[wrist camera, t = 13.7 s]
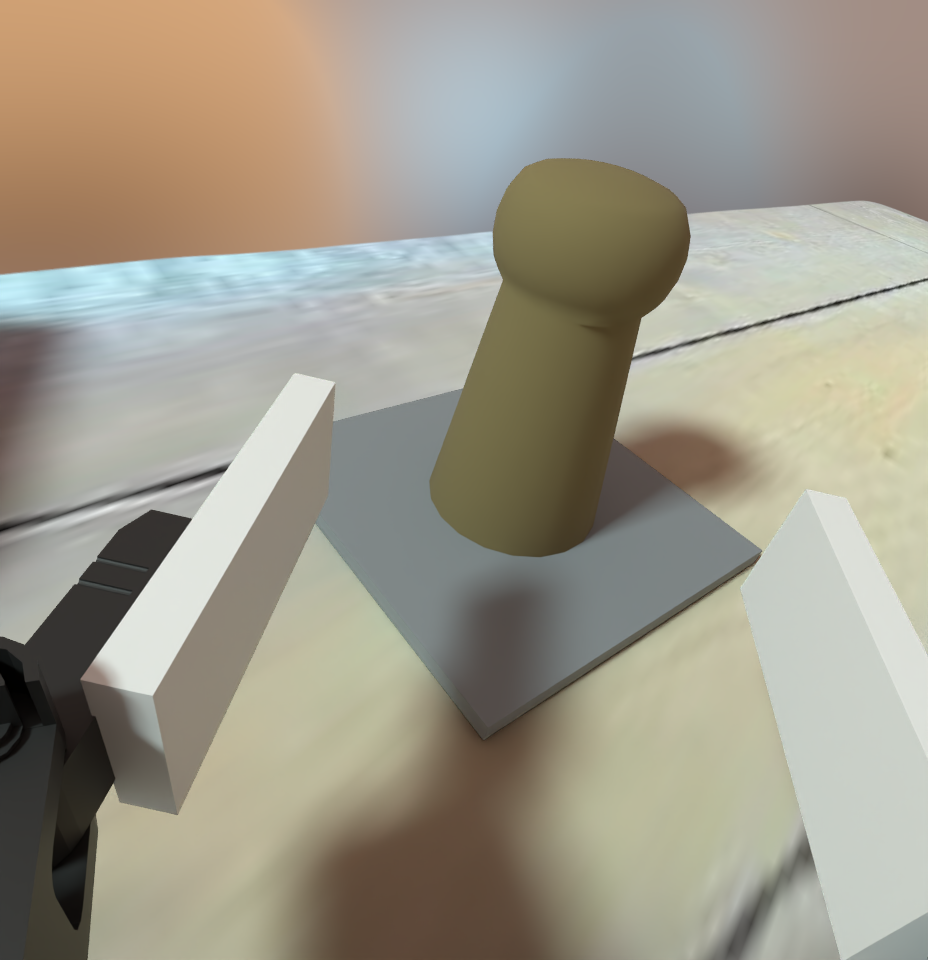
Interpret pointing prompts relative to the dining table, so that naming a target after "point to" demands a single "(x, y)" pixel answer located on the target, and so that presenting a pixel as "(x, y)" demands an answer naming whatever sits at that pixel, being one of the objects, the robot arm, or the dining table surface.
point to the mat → (513, 566)
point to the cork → (556, 352)
